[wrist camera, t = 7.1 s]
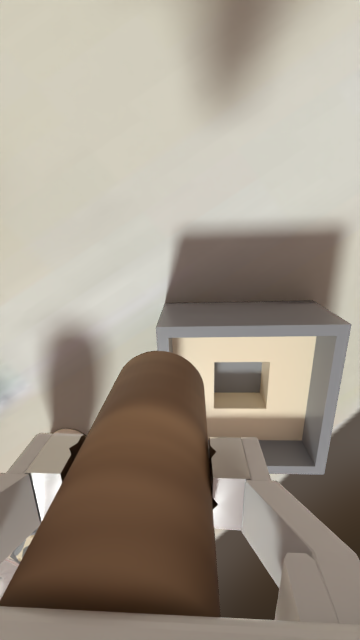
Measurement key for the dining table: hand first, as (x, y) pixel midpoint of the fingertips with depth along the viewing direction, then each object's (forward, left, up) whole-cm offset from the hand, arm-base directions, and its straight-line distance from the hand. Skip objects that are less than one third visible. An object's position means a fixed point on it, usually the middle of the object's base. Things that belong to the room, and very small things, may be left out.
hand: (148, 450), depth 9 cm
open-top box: (+9, +6, -22) cm, 25 cm away
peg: (0, 0, -4) cm, 4 cm away
